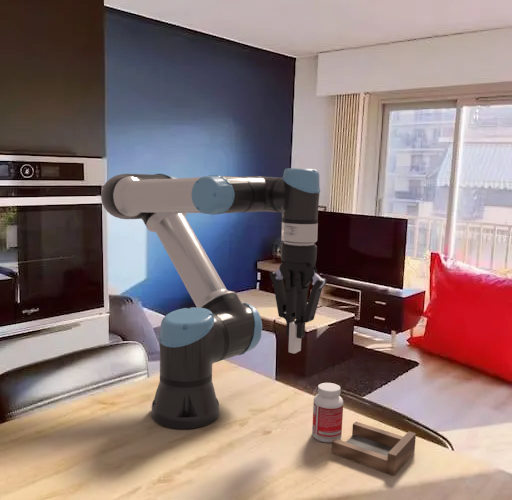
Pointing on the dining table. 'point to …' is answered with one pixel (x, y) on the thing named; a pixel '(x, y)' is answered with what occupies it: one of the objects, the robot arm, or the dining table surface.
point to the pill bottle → (327, 413)
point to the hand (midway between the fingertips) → (294, 351)
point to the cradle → (376, 448)
